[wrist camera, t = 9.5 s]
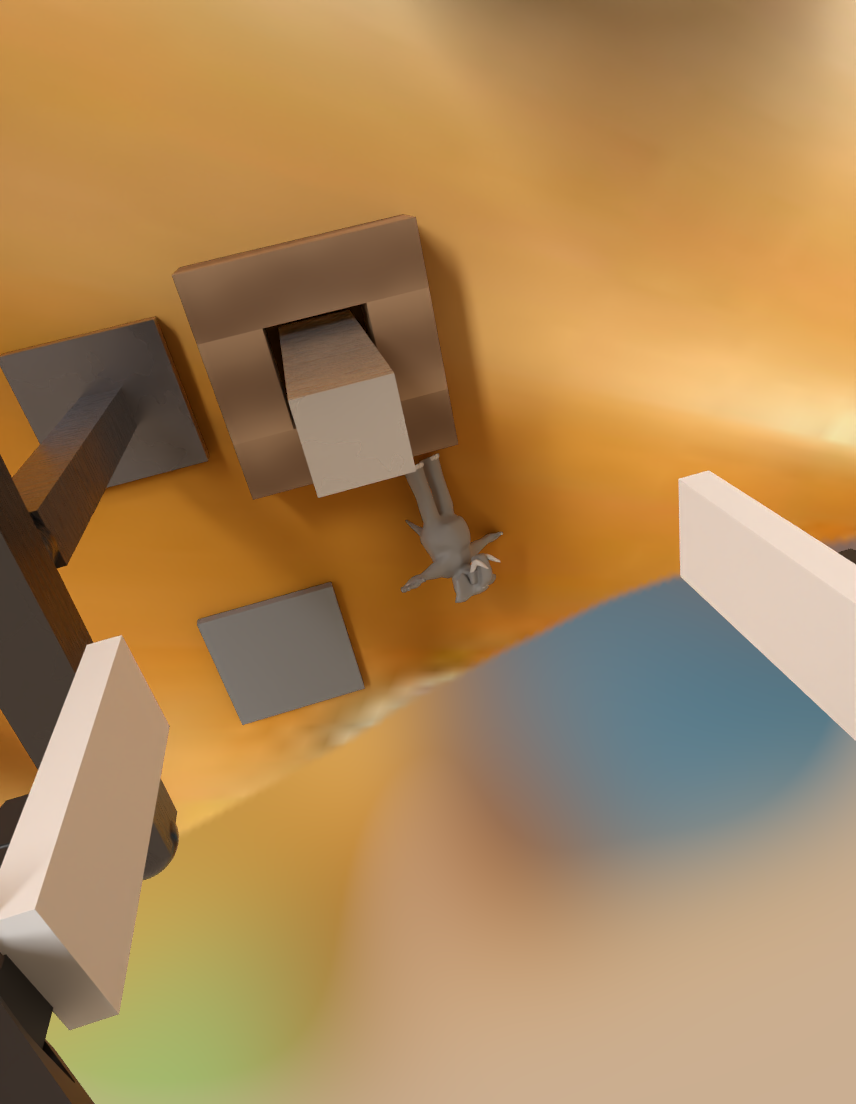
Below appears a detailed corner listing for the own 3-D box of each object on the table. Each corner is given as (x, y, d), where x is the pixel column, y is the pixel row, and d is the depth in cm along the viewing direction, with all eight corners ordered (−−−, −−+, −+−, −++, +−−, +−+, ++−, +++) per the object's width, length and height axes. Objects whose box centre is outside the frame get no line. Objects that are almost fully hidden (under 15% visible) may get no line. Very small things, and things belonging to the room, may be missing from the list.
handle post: (2, 353, 36) (-177, 471, 21) (155, 316, 37) (86, 405, 22) (72, 491, 40) (-39, 670, 25) (209, 455, 40) (180, 609, 26)
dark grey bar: (128, 828, 30) (112, 905, 27) (-301, 59, 16) (-436, 28, 13) (192, 811, 30) (184, 884, 27) (-176, 41, 17) (-279, 7, 14)
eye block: (179, 267, 36) (171, 275, 33) (402, 214, 37) (415, 217, 34) (253, 476, 42) (253, 499, 39) (444, 425, 43) (458, 444, 40)
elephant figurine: (501, 429, 44) (546, 560, 45) (435, 450, 48) (477, 570, 50) (397, 472, 37) (453, 626, 38) (330, 493, 41) (383, 631, 43)
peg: (278, 326, 38) (287, 400, 25) (348, 309, 38) (394, 373, 25) (299, 396, 40) (318, 498, 27) (366, 378, 40) (416, 471, 27)
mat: (197, 619, 45) (197, 624, 45) (331, 581, 46) (331, 586, 46) (242, 719, 50) (242, 725, 49) (363, 683, 51) (364, 688, 50)
